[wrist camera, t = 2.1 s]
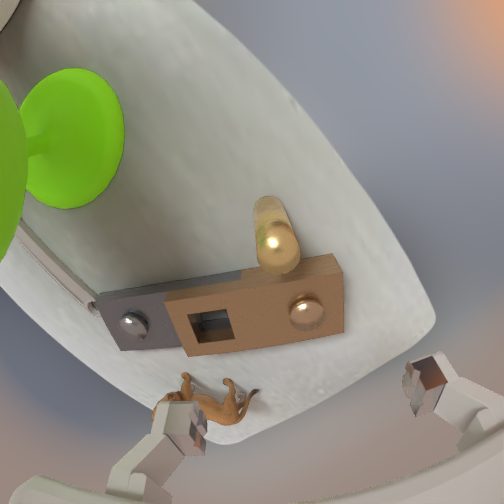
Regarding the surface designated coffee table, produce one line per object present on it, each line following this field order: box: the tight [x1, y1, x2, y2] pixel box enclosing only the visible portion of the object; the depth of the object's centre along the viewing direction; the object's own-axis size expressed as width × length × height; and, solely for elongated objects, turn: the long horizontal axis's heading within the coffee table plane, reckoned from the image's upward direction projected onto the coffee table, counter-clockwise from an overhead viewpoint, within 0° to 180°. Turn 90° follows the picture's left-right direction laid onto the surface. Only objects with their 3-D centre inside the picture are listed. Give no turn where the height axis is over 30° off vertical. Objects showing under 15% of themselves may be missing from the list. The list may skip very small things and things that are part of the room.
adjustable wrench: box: [14, 218, 101, 317], centre depth 30 cm, size 25×6×2 cm, turn 37°
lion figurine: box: [151, 372, 259, 425], centre depth 37 cm, size 15×5×9 cm, turn 87°
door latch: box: [95, 254, 344, 357], centre depth 32 cm, size 8×28×5 cm, turn 101°
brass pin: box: [254, 196, 301, 275], centre depth 25 cm, size 3×3×10 cm
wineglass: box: [0, 68, 125, 262], centre depth 17 cm, size 16×16×18 cm
